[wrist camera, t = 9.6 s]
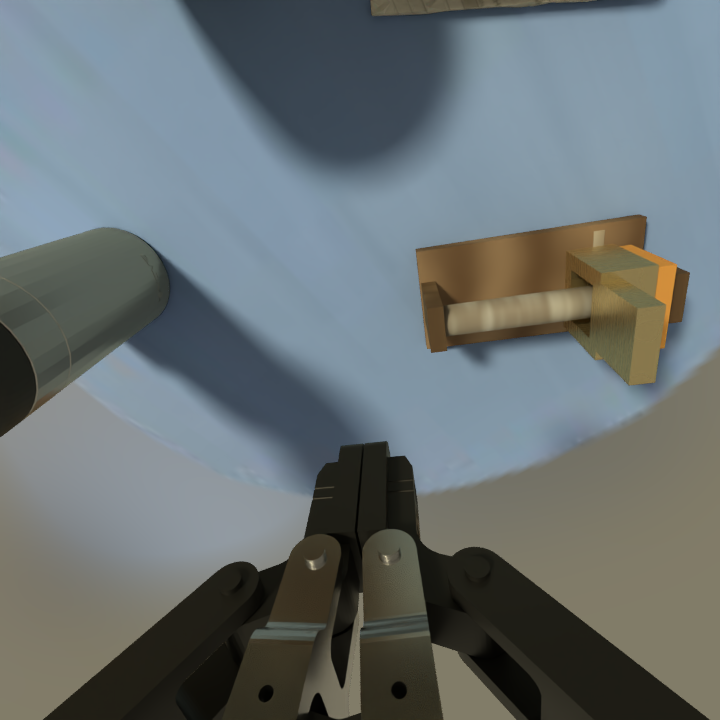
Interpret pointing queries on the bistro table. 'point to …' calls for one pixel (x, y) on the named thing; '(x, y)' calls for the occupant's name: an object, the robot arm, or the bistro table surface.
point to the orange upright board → (660, 282)
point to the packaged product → (447, 5)
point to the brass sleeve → (618, 310)
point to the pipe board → (517, 283)
